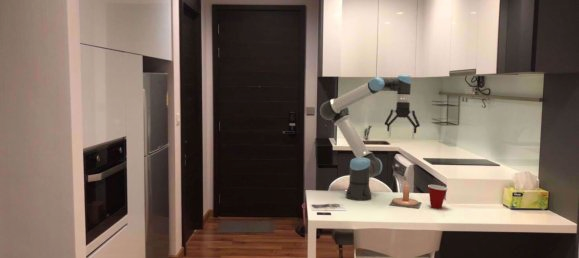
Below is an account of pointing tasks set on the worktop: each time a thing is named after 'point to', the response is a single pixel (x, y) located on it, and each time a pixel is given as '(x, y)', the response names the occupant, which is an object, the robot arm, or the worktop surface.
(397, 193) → the worktop surface
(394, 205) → the mat
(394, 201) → the lid
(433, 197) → the plastic cup
